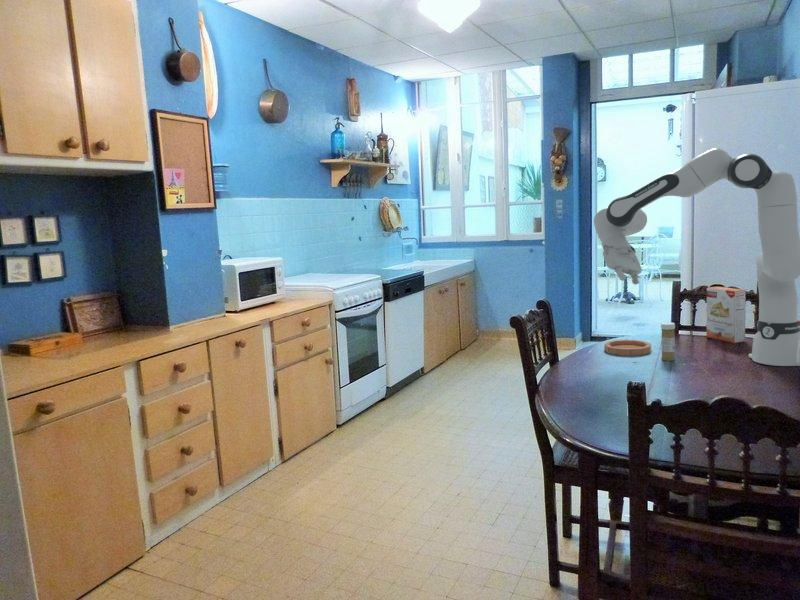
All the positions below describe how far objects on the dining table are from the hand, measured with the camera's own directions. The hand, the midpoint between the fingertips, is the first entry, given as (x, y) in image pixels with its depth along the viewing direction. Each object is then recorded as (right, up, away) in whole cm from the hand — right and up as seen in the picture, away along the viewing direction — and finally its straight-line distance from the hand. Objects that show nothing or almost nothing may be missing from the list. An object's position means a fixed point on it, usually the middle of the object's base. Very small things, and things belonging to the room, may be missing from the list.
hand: (630, 281), depth 216 cm
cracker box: (+47, -23, +24) cm, 58 cm away
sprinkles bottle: (+14, -28, 0) cm, 31 cm away
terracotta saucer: (+6, -26, +17) cm, 32 cm away
